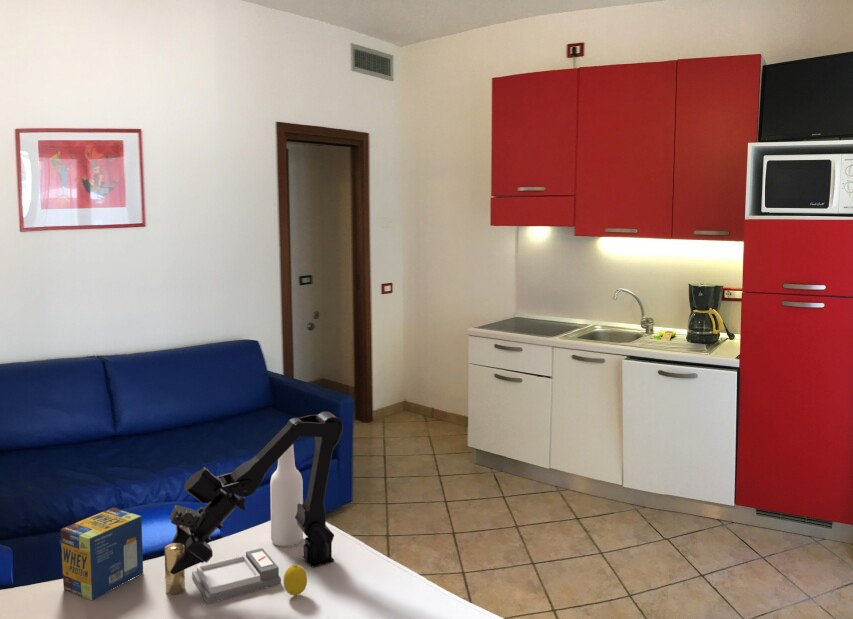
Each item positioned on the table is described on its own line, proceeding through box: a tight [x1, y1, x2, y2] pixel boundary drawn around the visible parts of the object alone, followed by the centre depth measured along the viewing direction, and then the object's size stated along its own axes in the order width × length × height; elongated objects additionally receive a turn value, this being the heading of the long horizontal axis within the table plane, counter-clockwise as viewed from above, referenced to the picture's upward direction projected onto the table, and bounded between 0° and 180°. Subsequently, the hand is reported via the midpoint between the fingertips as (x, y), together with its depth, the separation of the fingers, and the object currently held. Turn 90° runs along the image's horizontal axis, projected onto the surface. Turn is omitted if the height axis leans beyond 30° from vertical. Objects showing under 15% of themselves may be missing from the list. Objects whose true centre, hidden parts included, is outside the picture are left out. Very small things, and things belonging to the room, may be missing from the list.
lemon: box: [283, 563, 308, 597], centre depth 172 cm, size 6×6×8 cm
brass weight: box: [164, 542, 186, 596], centre depth 173 cm, size 4×4×11 cm
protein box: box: [60, 507, 144, 601], centre depth 177 cm, size 10×15×16 cm
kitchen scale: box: [191, 547, 282, 604], centre depth 179 cm, size 14×18×4 cm
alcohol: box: [269, 443, 304, 548], centre depth 200 cm, size 9×9×30 cm
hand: (169, 564), depth 173 cm, fingers open, 9 cm apart
